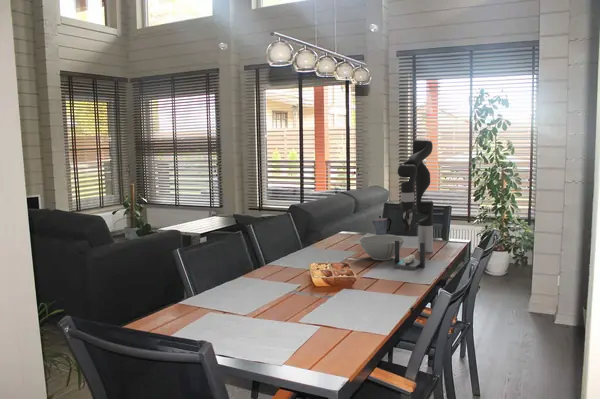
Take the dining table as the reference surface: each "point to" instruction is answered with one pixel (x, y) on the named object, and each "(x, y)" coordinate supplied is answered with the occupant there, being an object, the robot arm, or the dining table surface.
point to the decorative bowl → (380, 246)
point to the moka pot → (381, 225)
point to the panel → (408, 265)
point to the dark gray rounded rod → (396, 252)
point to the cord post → (422, 255)
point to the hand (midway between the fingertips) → (407, 230)
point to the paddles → (409, 258)
